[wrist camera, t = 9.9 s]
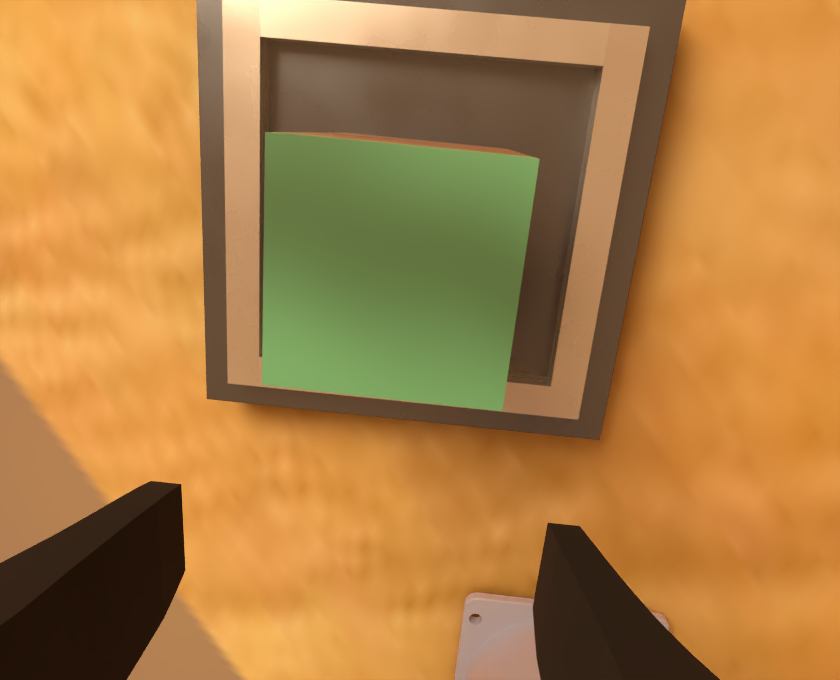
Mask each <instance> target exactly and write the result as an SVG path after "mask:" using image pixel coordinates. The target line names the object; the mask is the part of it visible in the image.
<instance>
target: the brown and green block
mask: <svg viewBox="0 0 840 680" xmlns="http://www.w3.org/2000/svg"><path fill="white" fill-rule="evenodd" d="M539 160H540V159H538V158H535V157H532V156H529V155H526V154H522V153H519V152H516V151H513V150H510V149H507V148H499V147H489V146H479V145H469V144H459V143H448V142H438V141H428V140H418V139H408V138H397V137H387V136H377V135H367V134H357V133H326V132H265V176H264V257H263V337H262V385H267V386H276V387H285V388H294V389H303V390H312V391H321V392H330V393H339V394H348V395H358V396H367V397H376V398H385V399H394V400H403V401H412V402H421V403H430V404H439V405H448V406H457V407H466V408H475V409H484V410H494V411H502V410H503V404H504V397H505V390H506V383H507V376H508V370H509V363H510V356H511V349H512V343H513V336H514V329H515V322H516V316H517V309H518V302H519V295H520V288H521V282H522V275H523V268H524V261H525V255H526V248H527V241H528V234H529V228H530V221H531V214H532V207H533V201H534V194H535V187H536V180H537V173H538V167H539Z"/></svg>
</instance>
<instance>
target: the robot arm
mask: <svg viewBox="0 0 840 680" xmlns="http://www.w3.org/2000/svg"><path fill="white" fill-rule="evenodd" d="M184 572H185V554H184V534H183V513H182V492H181V484H173V483H164V482H154V481H150V482H148V483H146V484H144V485H142V486H140V487H138V488H136V489H134V490H133V491H131V492H129V493H127V494H125V495H124V496H122V497H120V498H118V499H117V500H115V501H113V502H111V503H110V504H108V505H106V506H105V507H103V508H101V509H99V510H98V511H96V512H94V513H92V514H91V515H89V516H87V517H85V518H84V519H82V520H80V521H78V522H77V523H75V524H73V525H71V526H69V527H68V528H66V529H64V530H62V531H61V532H59V533H57V534H55V535H54V536H52V537H50V538H48V539H46V540H44V541H42V542H40V543H38V544H36V545H34V546H32V547H31V548H29V549H27V550H25V551H23V552H21V553H19V554H17V555H15V556H13V557H11V558H10V559H7V560H5V561H4V562H2V563H0V680H127V678H128V676H129V675H130V673H131V672H132V670H133V668H134V667H135V665H136V663H137V662H138V660H139V659H140V657H141V655H142V654H143V652H144V650H145V649H146V647H147V645H148V644H149V642H150V640H151V639H152V637H153V636H154V634H155V632H156V631H157V629H158V627H159V625H160V624H161V622H162V620H163V619H164V616H165V615H166V612H167V610H168V608H169V606H170V604H171V602H172V599H173V597H174V595H175V593H176V591H177V588H178V586H179V584H180V581H181V579H182V577H183V574H184ZM472 614H478V615H480V616H479V617H472V616H471V615H472ZM454 680H720V679H719V678H718V677H716V676H715V675H714V674H713V673H712V672H711V671H710V670H709V669H708V668H706V667H705V666H704V665H703V664H702V663H701V662H700V661H699V660H698V659H696V658H695V657H694V656H693V655H692V654H691V653H690V652H689V651H688V650H687V649H686V648H685V647H684V646H683V645H682V644H681V643H680V642H679V641H678V640H677V639H676V638H675V637H674V636H673V635H672V634H671V633H670V632H669V624H668V621H667V619H666V617H665V616H664V615H662V614H660V613H657V612H650V611H649V610H648V609H647V607H646V606H645V605H644V604H643V603H642V602H641V601H640V600H639V598H638V597H637V596H636V595H635V594H634V593H633V592H632V590H631V589H630V588H629V587H628V586H627V585H626V583H625V582H624V581H623V580H622V579H621V577H620V576H619V575H618V574H617V572H616V571H615V570H614V569H613V567H612V566H611V565H610V564H609V563H608V561H607V560H606V559H605V558H604V556H603V555H602V554H601V552H600V551H599V550H598V549H597V547H596V546H595V545H594V544H593V542H592V541H591V540H590V539H589V537H588V536H587V535H586V534H585V532H584V531H583V530H582V529H581V527H580V526H573V525H563V524H554V523H548V525H547V531H546V536H545V542H544V547H543V553H542V559H541V564H540V570H539V575H538V581H537V586H536V592H535V598H534V599H532V598H524V597H515V596H506V595H497V594H488V593H479V592H476V593H471V594H469V595H468V596H467V597H466V598H465V600H464V606H463V614H462V622H461V629H460V637H459V644H458V652H457V659H456V667H455V675H454Z"/></svg>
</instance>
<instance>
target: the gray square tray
mask: <svg viewBox="0 0 840 680" xmlns="http://www.w3.org/2000/svg"><path fill="white" fill-rule="evenodd" d="M196 1H197V39H198V77H199V115H200V154H201V192H202V230H203V268H204V306H205V344H206V382H207V399H213V400H222V401H232V402H241V403H251V404H261V405H270V406H280V407H289V408H299V409H309V410H318V411H328V412H337V413H347V414H356V415H366V416H376V417H385V418H395V419H404V420H414V421H424V422H433V423H443V424H452V425H462V426H471V427H481V428H491V429H500V430H510V431H519V432H529V433H539V434H548V435H558V436H567V437H577V438H587V439H596V440H600V435H601V430H602V425H603V420H604V415H605V410H606V405H607V400H608V395H609V389H610V384H611V379H612V374H613V369H614V364H615V359H616V354H617V349H618V344H619V339H620V334H621V329H622V324H623V318H624V313H625V308H626V303H627V298H628V293H629V288H630V283H631V278H632V273H633V268H634V263H635V258H636V253H637V247H638V242H639V237H640V232H641V227H642V222H643V217H644V212H645V207H646V202H647V197H648V192H649V187H650V182H651V176H652V171H653V166H654V161H655V156H656V151H657V146H658V141H659V136H660V131H661V126H662V121H663V116H664V111H665V105H666V100H667V95H668V90H669V85H670V80H671V75H672V70H673V65H674V60H675V55H676V50H677V45H678V40H679V34H680V29H681V24H682V19H683V14H684V9H685V4H686V0H196ZM265 132H326V133H357V134H367V135H377V136H387V137H397V138H408V139H418V140H428V141H438V142H448V143H459V144H469V145H479V146H489V147H499V148H507V149H510V150H513V151H516V152H519V153H522V154H526V155H529V156H532V157H535V158H538V159H540V160H539V167H538V173H537V180H536V187H535V194H534V201H533V207H532V214H531V221H530V228H529V234H528V241H527V248H526V255H525V261H524V268H523V275H522V282H521V288H520V295H519V302H518V309H517V316H516V322H515V329H514V336H513V343H512V349H511V356H510V363H509V370H508V376H507V383H506V390H505V397H504V404H503V410H502V411H494V410H484V409H475V408H466V407H457V406H448V405H439V404H430V403H421V402H412V401H403V400H394V399H385V398H376V397H367V396H358V395H348V394H339V393H330V392H321V391H312V390H303V389H294V388H285V387H276V386H267V385H262V337H263V257H264V176H265Z"/></svg>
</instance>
